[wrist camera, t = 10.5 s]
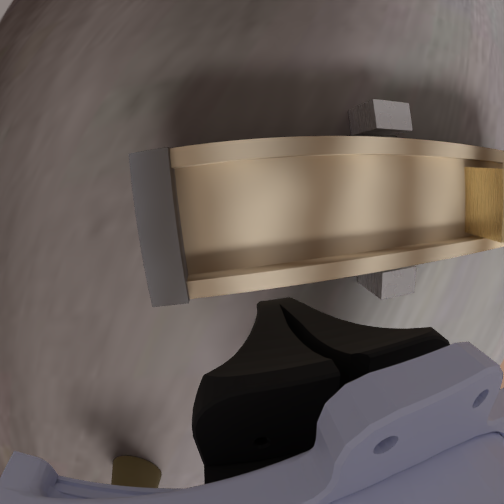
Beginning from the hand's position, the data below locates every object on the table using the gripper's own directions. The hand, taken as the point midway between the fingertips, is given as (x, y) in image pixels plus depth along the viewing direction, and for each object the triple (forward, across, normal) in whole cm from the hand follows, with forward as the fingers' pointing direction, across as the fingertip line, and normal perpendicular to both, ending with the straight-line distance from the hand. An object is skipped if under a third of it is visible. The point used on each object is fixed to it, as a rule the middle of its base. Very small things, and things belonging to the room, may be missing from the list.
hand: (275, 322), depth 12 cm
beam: (+7, -10, -4) cm, 13 cm away
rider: (+6, -19, -3) cm, 21 cm away
